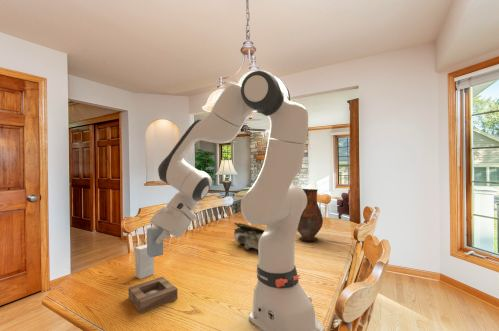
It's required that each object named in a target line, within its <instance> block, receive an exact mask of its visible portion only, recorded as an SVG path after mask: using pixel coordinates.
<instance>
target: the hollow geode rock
mask: <svg viewBox="0 0 499 331" xmlns="http://www.w3.org/2000/svg"><path fill="white" fill-rule="evenodd" d="M234 225H236V227H237V228H235V229H234V232H233V237H234V240H235V242H236V243H238V244H240V245H244V248H245V249H247V250H249V249H252V248H254V249H256V250H257V251H258V242H259V239H260V237H261V235H262V234H263V232H264V230H265V229H263V228H258V227H255V226H252V225H251V226H250V225H247V224H244V223H240V222H239V223H236V222H234Z"/></svg>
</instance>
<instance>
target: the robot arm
mask: <svg viewBox="0 0 499 331" xmlns="http://www.w3.org/2000/svg"><path fill="white" fill-rule="evenodd" d="M252 113H258V114H261V115H263V116H265V117H268V118H269V123H270V128H269V134H268V138H267V139H268V140H267V146H266V150H265V151H266V152H265V157H264V161H263V164H262V167H261V170H260V172H259V174H258V175H257V178H256V180H255V182H254V183H253V185H252V186H251V187H250V188H249V190H248V191H247V192H245V193H244V195H243V196H242V198H241V201H240V211H241V215H242V218H244V220H245V221H246V222H247V223H249V224H250V225H251V226H252V225H253V226H265V229H263V230H264V232H263V234H262V235H261V237H260V239H259V242H258V250H257V251H258V252H257V254H258V264H257V265H256V279H257V282H256V285H255V287H254V289H253V298H252V310H251V312H250V313H249V315H248V320H249V321H250V322H251V323H253V324H254V325H255V326H256V327H258V328H259V329H260V330H262V331H325V330H326V329H325V326H324V324H322V322H321V321H320V320H319V319H318V318H317V317H316V311H315V306H314V305H313V303H312V302H313V300H312V296H310V295H307V293H306V292H305V290H304V289H303V287H302V285H301V283H300V282H299V280H300V279H301V275H300V274H298V270H297V267H296V265H295V251H296V250H295V249H296V248H295V247H296V244H295V243H296V239H297V238H296V237H297V232H298V231H297V228H298V225H299V221H300V217H301V215H302V213H303V211H304V209H305V208H306V205H307V196H306V193H305V192H304V190H303V189H304V188H302V187H300V186H298V185H295V184H292V183H293V181H294V179H295V178H296V177H297V175H298V174H299V173H300V172H301V170H302V165H303V160H304V156H305V150H306V145H307V139H308V132H309V113H308V110H307V108H306V107H305V106H304V105H303V104H300V103H297V102H293V101H291V94H290V90H289V89H288V88H287V86H286V85H285V84H284V83H283V82H282V80H280V79H279V78H278V77H276V76H275V75H274V74H273V73H271V72H269V71H265V70H254V71H252V72H250V73H249V74H247V75H246V77H244V79H243V81H242V83H241V84H239V83H231V84H228V85H227V86H226V87H225V88H224V90H223V91H222V92H221V93H220V95H219V97H218V98H217V100H216V101H215V102H214V104H213V107H212V108H211V110H210V112H209V114H207V115H206V117H204V118H203V119H197V120H195V121H194V122H192V123H191V125H190V126H189V127H188V128H187V130H185V132H184V133H183V134H182V136H181V137H180V139H179V140H178V142H177V143H176V144H175V146H174V147H173V148H172V149H171V151H170V153H169V154H168V155H167V156H166V157H165V158H164V159H163V160H162V161H161V163H160V164H159V166H158V168H157V173H158V178H159V180H160V181H162V182H164V183H166V184H167V185H169V186H171V187H173V188H174V189H175V190H177V191H178V192H177V193H175V195H174V196H173V197H172V198H171V199H170V200H169V202H167V204H166V206H162V207H161V208H160V209H158V211H157V212H156V213H154V214H153V216H152V217H151V218H150V220H149V223H150V224H151V225H152V226H153V227H157V226H158V227H160V228H162V229H163V231H162V234H161V235H159V236H157V237H156V239H155V240H154V241H155V242H156V243H157V244H160V243H161V241H162V240H163V241H164V240H165V239H166V238H168V237H169V236H170V235H171V236H174V237H175V238H176V239H177V238H179V237H181V236H182V235H183V234H184V233H185V232H186V231H187V230H188V228H189V227H190V226H191V223H192V222H194V221H195V220H196V219H197V215H196V214H195V212H194V210H195V209H196V206H197V205H198V203H200V202H201V201H203V199H204V198H205V197H206V196H207V195H208V193H209V192H210V189H211V186H212V184H213V179H212V177H211V175H209V173H207V172H205V171H203V170H198V169H197V168H196V167H194V166H192V165H191V164H189V162H187V161H186V160H185V157H186V156H187V154H188V153H189V151H190V150H191V149H192V148H193V146H194V145H195V144H196V143H197V142H198V141H203V142H208V143H209V142H210V143H212V144H213V143H214V144H226V143H227V144H228V143H229V142H232V141H233V140H234V139H235V138H236V137H237V136H238V134H239V133H240V131H241V129H242V127H243V126H244V124H245V121H246V120H247V118H248V117H249V116H250V115H251V114H252Z"/></svg>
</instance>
